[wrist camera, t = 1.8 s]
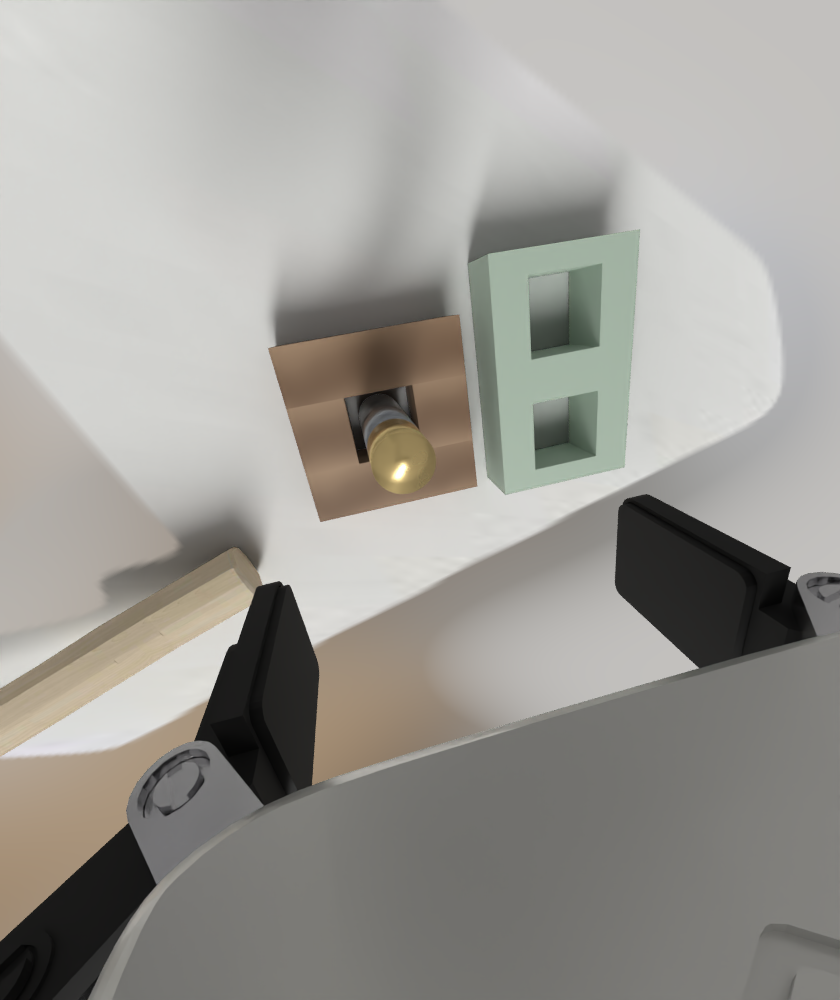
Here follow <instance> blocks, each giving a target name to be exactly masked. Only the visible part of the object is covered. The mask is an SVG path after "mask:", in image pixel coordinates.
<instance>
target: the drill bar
mask: <svg viewBox="0 0 840 1000" xmlns="http://www.w3.org/2000/svg"><path fill="white" fill-rule="evenodd" d="M359 421H360V425H361V429H362V433H363V437H364V441H365V445H366V448H367V452H368V456H369V460H370V464H371V468H372V472H373V475H374V477H375V479H376V481H377V482H378V483H379V485H380V486H382V487H383V488H384V489H386V490H388V491H390V492H392V493H396V494H408V493H412V492H415V491H417V490H419V489H421V488H422V487H424V486H425V485H426V484H427V483H428V482H429V481H430V479H431V478H432V476H433V474H434V471H435V467H436V455H435V452H434V449H433V447H432V445H431V444H430V443H429V441H428V440H427V439H426V438H425V436H424V435H423V434H422V433H421V432H420V430H419V429H418V428H417V427H416V425H415V424H414V423H413V422H412V421H411V419H410V418H409V417H408V416H407V414H406V413H405V412H404V411H403V410H402V408H401V407H400V406H399V405H398V403H397V402H396V401H395V400H394V399H393V398H392V397H390V396H388V395H385V394H375V395H372V396H369V397H368V398H367V399H365V400H364V401H363V403H362V404H361V406H360V409H359Z"/></svg>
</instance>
